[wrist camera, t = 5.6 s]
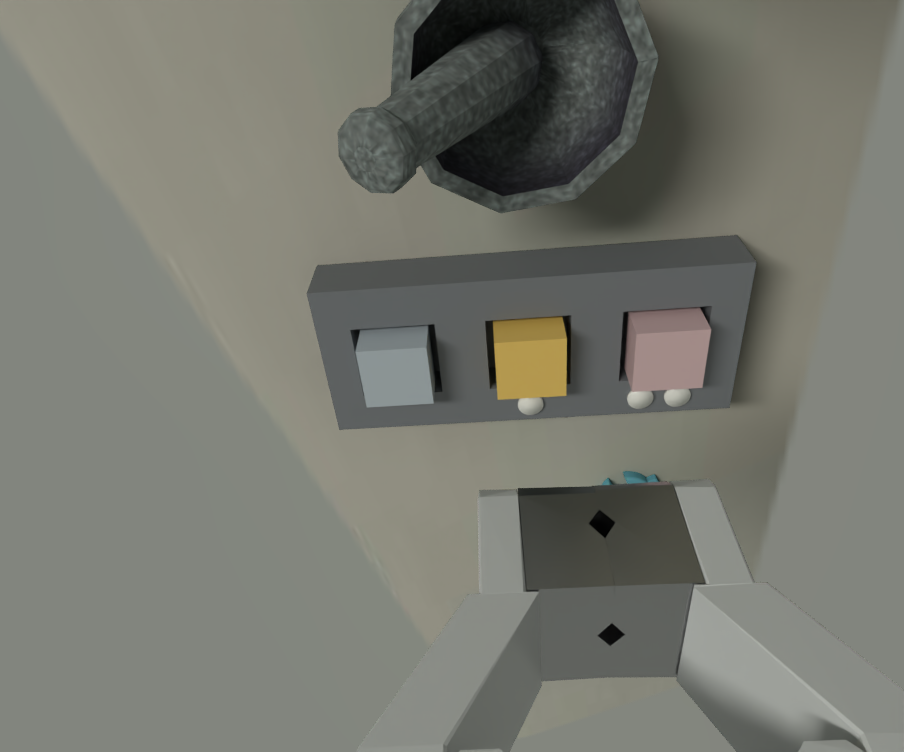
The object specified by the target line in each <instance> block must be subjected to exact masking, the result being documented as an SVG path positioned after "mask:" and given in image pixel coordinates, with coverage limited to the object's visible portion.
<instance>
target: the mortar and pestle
mask: <svg viewBox="0 0 904 752" xmlns="http://www.w3.org/2000/svg"><path fill="white" fill-rule="evenodd" d="M658 58H659V57H658V54H657V51H656V49H655V46H654V43H653V41H652V38H651V35H650V32H649V30H648V27H647V24H646V22H645V19H644V16H643V14H642V11H641V8H640V5H639V3H638V0H411V1H410V3H409V4H408V5H407V6H406V8H405V9H404V10H403V12H402V13H401V14H400V15H399V17H398V18H397V21H396V23H395V28H394V46H393V64H392V82H391V96H390V97H389V98H387V99H386V100H385V101H384V102H382V103H381V104H380V105H378V106H377V107H370V108H359V109H357V110H355V111H354V112H352V113H351V114H350V115H349V117H348V118H347V119H346V121H345V122H344V123H343V125H342V126H341V128H340V129H339V131H338V148H339V157H340V159H341V161H342V163H343V164H344V166H345V168H346V170H347V171H348V173H349V175H350V177H351V179H353V180H354V181H355V182H357V183H358V184H360V185H361V186H362V187H364V188H365V189H367V190H368V191H369V192H371V193H395V192H396V191H397V190H399V189H400V188H402V187H403V186H404V185H405V184H406V183H407V182H408V181H409V180H410V179H411V178H412V177H413V176H414V175H415V174H416V168H417V167H419V166H420V165H421V167H422V168H423V170H424V172H425V173H426V175H427V177H428V178H429V180H430V181H431V183H433V184H435V185H437V186H439V187H442V188H444V189H446V190H449V191H451V192H453V193H455V194H458V195H460V196H462V197H464V198H467V199H469V200H471V201H474V202H476V203H478V204H480V205H483V206H485V207H487V208H489V209H492V210H494V211H496V212H499V213H505V212H510V211H515V210H521V209H526V208H532V207H537V206H542V205H548V204H553V203H558V202H564V201H569V200H574V199H577V198H578V197H579V196H580V195H581V194H582V193H583V192H584V191H585V190H586V189H587V188H588V187H589V186H591V185H592V184H593V183H594V182H595V181H596V180H597V179H598V178H599V177H600V176H601V175H602V174H603V173H604V172H606V171H607V170H608V169H609V168H610V167H611V166H612V165H613V164H614V163H615V162H616V161H617V160H618V159H619V158H621V157H622V156H623V155H624V154H625V153H626V152H627V151H628V150H629V149H630V148H631V147H632V146H633V145H634V144H636V141H637V138H638V134H639V130H640V126H641V122H642V119H643V115H644V111H645V107H646V104H647V100H648V96H649V92H650V89H651V85H652V81H653V77H654V73H655V70H656V66H657V62H658Z"/></svg>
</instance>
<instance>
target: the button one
mask: <svg viewBox="0 0 904 752" xmlns="http://www.w3.org/2000/svg"><path fill="white" fill-rule="evenodd" d="M493 332H494V349H495V365H496V381H497V397H498V400H503V399H520V398H537V397H555V396H566V378H567V337H566V332H565V327H564V322H563V317H562V316H552V317H537V318H522V319H507V320H493Z"/></svg>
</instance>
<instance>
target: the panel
mask: <svg viewBox="0 0 904 752" xmlns="http://www.w3.org/2000/svg"><path fill="white" fill-rule="evenodd" d="M756 263H757V262H756V261H755V259H754V258H753V257H752V255H751V254H750V252H749V251H748V250H747V248H746V247H745V245H744V244H743V243H742V241H741V240H740V238H739V237H738V236H737V235H734V236H720V237H706V238H693V239H679V240H665V241H651V242H637V243H623V244H609V245H596V246H582V247H568V248H554V249H540V250H526V251H512V252H499V253H485V254H471V255H457V256H443V257H429V258H415V259H402V260H388V261H374V262H360V263H346V264H332V265H318V266H317V267H316V270H315V272H314V275H313V278H312V281H311V283H310V286H309V289H308V291H307V297H308V301H309V305H310V309H311V313H312V317H313V322H314V326H315V330H316V334H317V338H318V342H319V347H320V351H321V355H322V359H323V363H324V367H325V372H326V376H327V380H328V384H329V388H330V392H331V397H332V401H333V405H334V409H335V413H336V417H337V422H338V426H339V430H343V429H361V428H379V427H396V426H414V425H432V424H450V423H467V422H485V421H503V420H520V419H538V418H556V417H574V416H591V415H609V414H627V413H644V412H662V411H680V410H698V409H715V408H730V402H731V397H732V391H733V386H734V381H735V375H736V370H737V365H738V359H739V354H740V348H741V343H742V338H743V332H744V327H745V322H746V316H747V311H748V305H749V300H750V295H751V289H752V284H753V279H754V273H755V268H756ZM689 307H700V309H701V310H702V312H703V314H704V316H705V318H706V320H707V322H708V324H709V326H710V328H711V334H710V341H709V347H708V354H707V360H706V367H705V373H704V380H703V386H702V388H691V389H674V390H657V391H640V392H632V391H631V387H630V384H629V381H628V378H627V374H626V371H625V368H624V365H625V350H626V336H627V322H628V311H643V310H659V309H674V308H689ZM552 316H562V317H563V322H564V327H565V332H566V337H567V378H566V396H555V397H537V398H520V399H503V400H498V397H497V381H496V365H495V349H494V332H493V320H507V319H522V318H537V317H552ZM416 325H428V326H429V334H430V342H431V350H432V358H433V365H434V373H435V391H434V404H418V405H401V406H384V407H367V406H366V401H365V397H364V392H363V387H362V382H361V377H360V372H359V367H358V362H357V357H356V353H355V352H356V347H357V343H358V338H359V334H360V329H370V328H385V327H401V326H416Z"/></svg>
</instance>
